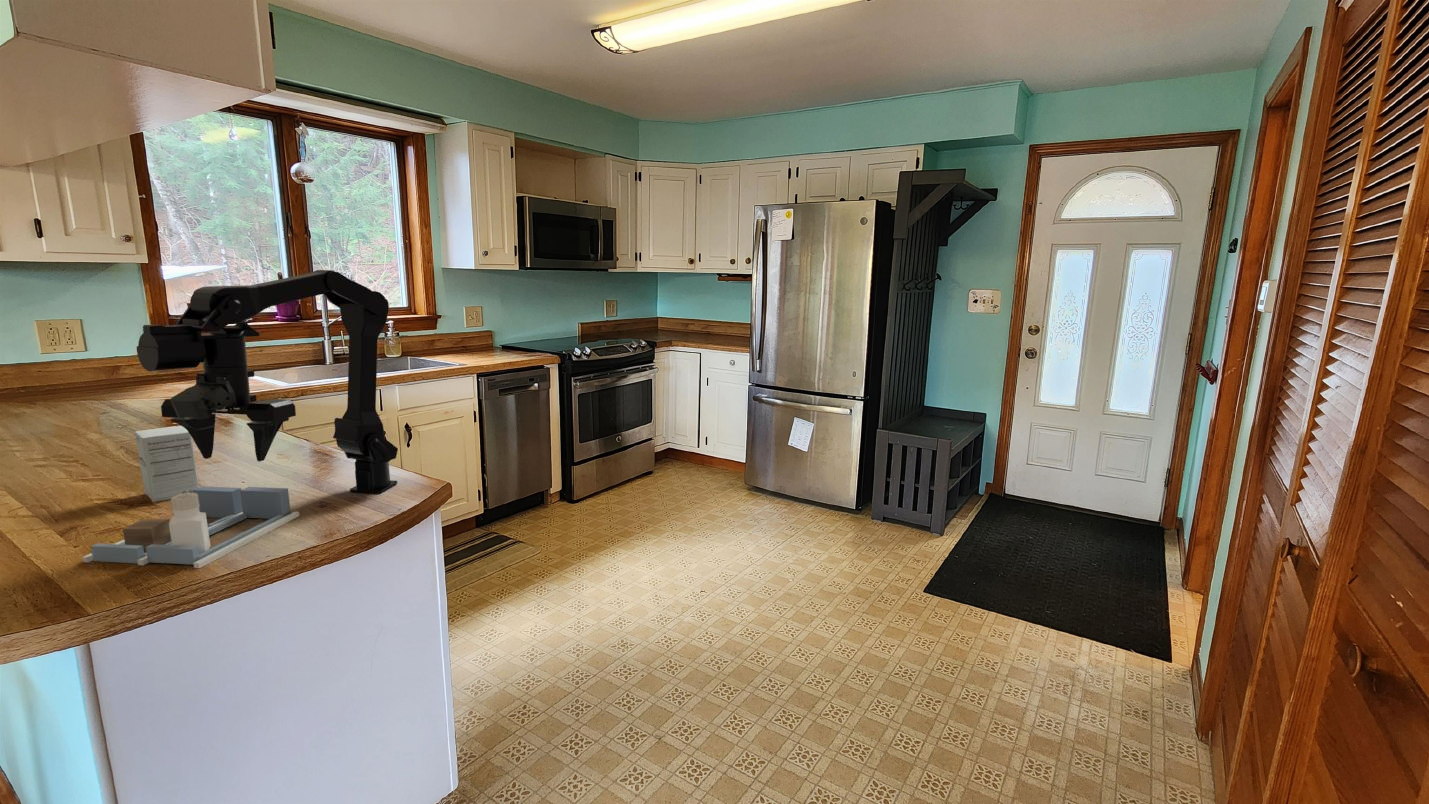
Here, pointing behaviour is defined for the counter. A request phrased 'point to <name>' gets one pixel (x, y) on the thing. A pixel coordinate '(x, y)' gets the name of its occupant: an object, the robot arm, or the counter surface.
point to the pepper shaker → (189, 523)
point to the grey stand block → (253, 506)
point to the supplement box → (166, 462)
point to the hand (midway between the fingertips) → (234, 459)
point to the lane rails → (226, 549)
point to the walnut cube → (148, 533)
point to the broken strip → (211, 502)
